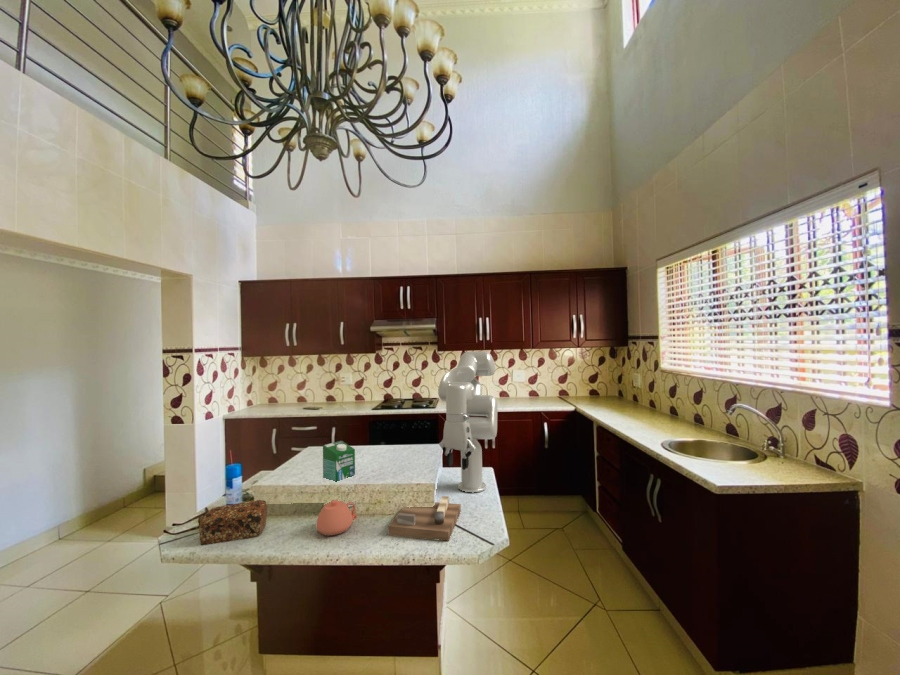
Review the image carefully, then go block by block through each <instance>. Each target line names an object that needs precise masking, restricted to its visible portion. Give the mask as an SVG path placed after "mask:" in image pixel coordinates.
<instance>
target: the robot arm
mask: <svg viewBox="0 0 900 675" xmlns="http://www.w3.org/2000/svg"><path fill="white" fill-rule="evenodd" d="M495 372H496V363H495V360H494V357H493V356H492V354H491V353H490V352H488V351H484V350H483V351H481V350H479V351H466V352H464V353H462V354H461V356H460V358H459V362H458V363H457V367H454V368H452V369H451V370H450V371H448V372H446V373H445V374H443V376H442V377H441V380H440V383H439V385H438V391H437V394H438V398H439V399H440V400H441V401H445V409H446V410H445V415H446V418H445V419H446V420H445V422H444V424H443V425H444V427H443V434H442V435H443V436H442V440H441V441H440V442H439V443H438V445H439V447H440V448H441V450H442V451H443V452H444V456H446V458H445V460H446V467H448V468H449V467H451V466H453V464H454V454H453V450H456V451H460V470H461V471H460V473H461V474H460V476H461V481H460V482H459V483H458V485H457V488H458V490H459V489H460V490H459V491H461V490H462V492H463V491H465V492H464V493H467V492H472V493H471V494H475V493H474V492H477V493H482V492H483V490H484V491H485V490H486V489H487V485H486V484H487V483H485V482H483V451H482V450H483V449H482V446H481V443H480V442H479V441H478V440H494V439H495V438H496V437H497V435H498V434H497V433H498V409H499V408H498V400H497V398H496V397H495V395H494V396H493V395H485V394H484V395H483V386H482V384H481V383H480V382H479V380H478V379H477V378H476V377H491V376H493V375H494V374H495Z"/></svg>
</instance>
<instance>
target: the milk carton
mask: <svg viewBox="0 0 900 675" xmlns="http://www.w3.org/2000/svg"><path fill="white" fill-rule="evenodd" d="M354 475H355V476H356V451H355V448H354V447H352V446H351V445H349V444H348V443H346V442H344V441H343V440H338V441H334V442H331V443H330V442H329V443H327V444H324V445H323V444H322V479H323V478H326V479H329V480H333V481H335V482H337V481H340V480H343V479H346V478H348V477H352V476H354Z"/></svg>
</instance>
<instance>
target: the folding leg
mask: <svg viewBox="0 0 900 675" xmlns="http://www.w3.org/2000/svg"><path fill="white" fill-rule="evenodd" d="M439 503H440V504H439V506H438V509H437V512H435V523H436V524H442V523H444V517H445V514H446V510H447V507H448V504H449V503H450V497H449V495H448V496H443V495H442V496H441V499H440V501H439Z"/></svg>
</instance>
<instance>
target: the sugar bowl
mask: <svg viewBox="0 0 900 675" xmlns="http://www.w3.org/2000/svg"><path fill="white" fill-rule="evenodd" d="M348 505H353V506H352V511H351V508H350V507H348ZM355 512H356V503H355V504H354V503H353V502H349V503H347V504H346V503H345V502H343V501H338V500H332V501H331V502H329V503H327V504H325V505H324V507H322V509H321V510H320V511H319V514H318V516H317V518H316V519H317V520H316V523H315V528H316V530H317V531H318V532H319V533H320V534H322V535H324V536H326V535H331V536H336V535H340V534H342V532H343V533H346V532H347V531H348V529H349V528H350V527H351V526H352V524H353V521H356V519H357V518H358V514H357V513H355Z"/></svg>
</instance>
